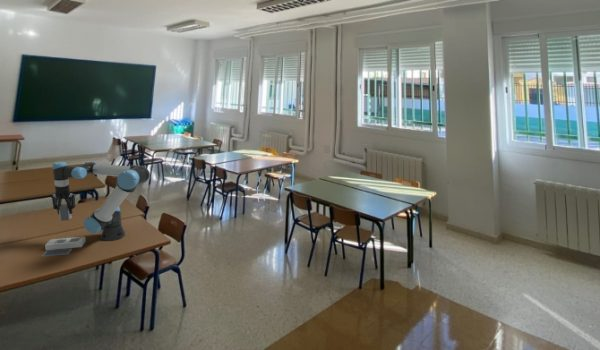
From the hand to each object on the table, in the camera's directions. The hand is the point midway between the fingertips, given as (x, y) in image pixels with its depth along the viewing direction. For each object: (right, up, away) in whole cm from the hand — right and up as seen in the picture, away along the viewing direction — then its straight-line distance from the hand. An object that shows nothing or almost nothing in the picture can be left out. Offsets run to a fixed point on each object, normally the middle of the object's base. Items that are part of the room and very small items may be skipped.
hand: (65, 218), depth 212 cm
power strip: (+2, -18, -2) cm, 18 cm away
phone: (+3, -21, -11) cm, 24 cm away
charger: (0, -1, 0) cm, 1 cm away
